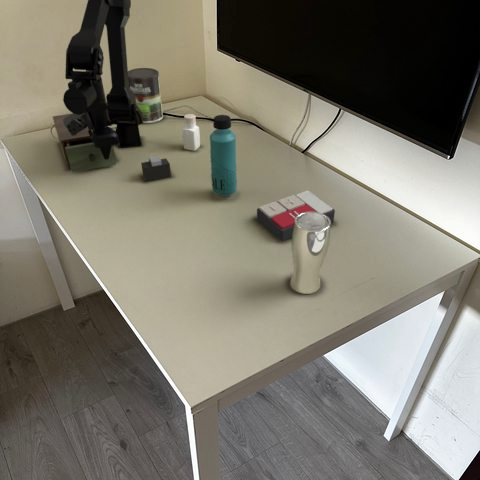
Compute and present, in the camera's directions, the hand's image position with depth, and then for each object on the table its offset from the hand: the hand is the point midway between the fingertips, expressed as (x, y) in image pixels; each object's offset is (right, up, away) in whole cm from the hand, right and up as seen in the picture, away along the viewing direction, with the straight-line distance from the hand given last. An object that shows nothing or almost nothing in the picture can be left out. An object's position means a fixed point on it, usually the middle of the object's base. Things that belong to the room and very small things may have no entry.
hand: (106, 158), depth 129 cm
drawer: (-7, +3, +8) cm, 11 cm away
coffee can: (+5, +24, +31) cm, 40 cm away
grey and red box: (+50, -21, -16) cm, 56 cm away
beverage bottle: (+32, -12, -7) cm, 35 cm away
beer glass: (+50, -37, -33) cm, 70 cm away
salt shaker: (+22, +8, +14) cm, 27 cm away
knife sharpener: (+14, -5, +1) cm, 15 cm away
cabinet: (-9, +6, +12) cm, 16 cm away
